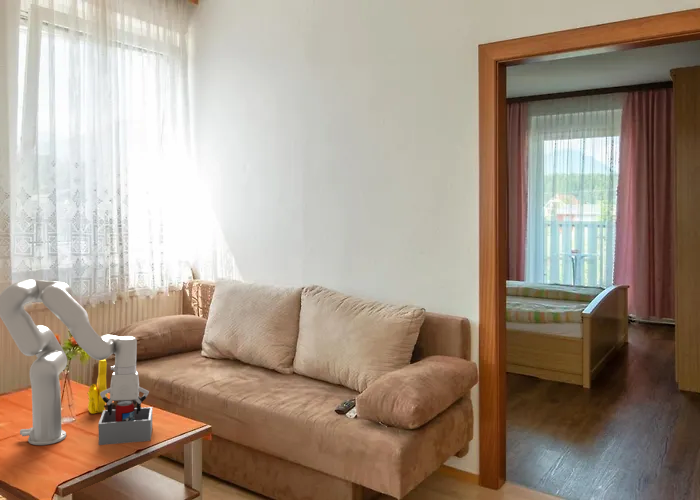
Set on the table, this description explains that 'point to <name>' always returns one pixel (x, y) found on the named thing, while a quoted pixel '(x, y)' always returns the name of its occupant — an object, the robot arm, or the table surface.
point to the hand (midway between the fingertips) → (124, 413)
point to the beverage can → (124, 411)
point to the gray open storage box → (125, 428)
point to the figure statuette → (98, 390)
